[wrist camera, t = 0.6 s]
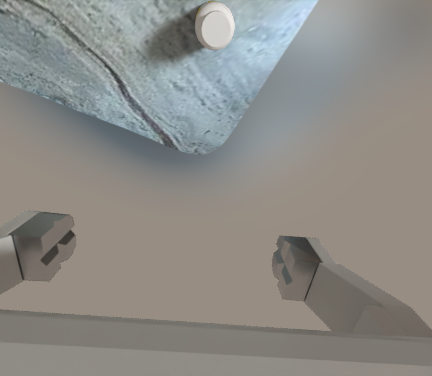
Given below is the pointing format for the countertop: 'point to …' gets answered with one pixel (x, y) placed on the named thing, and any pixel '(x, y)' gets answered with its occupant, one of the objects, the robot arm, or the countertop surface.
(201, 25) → the supplement bottle
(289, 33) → the countertop surface
